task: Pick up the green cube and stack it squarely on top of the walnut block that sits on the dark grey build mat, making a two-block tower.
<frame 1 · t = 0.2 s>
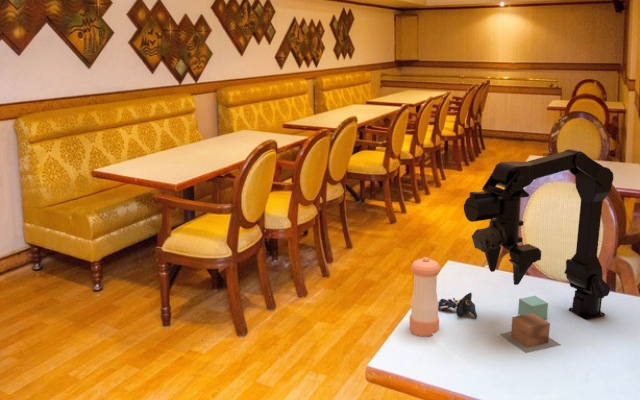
hand: (503, 277, 147), 14 cm above the table, fingers open, 9 cm apart
walnut block: (529, 339, 145), point 1 cm above the table, touching build mat
pepper shaker: (423, 330, 152), on the table
toy: (451, 313, 162), on the table
green cube: (532, 318, 157), on the table
build mat: (529, 341, 145), on the table
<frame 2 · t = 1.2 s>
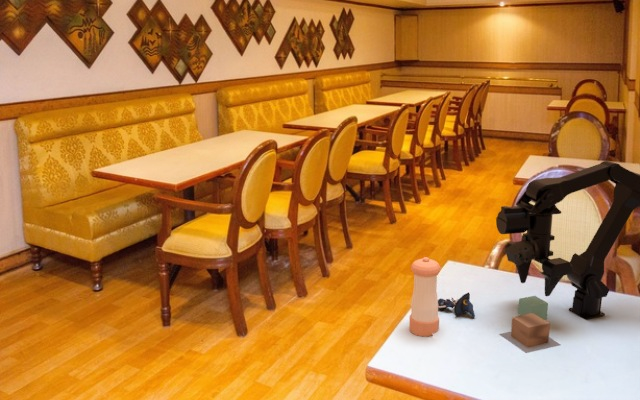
hand: (534, 289, 155), 8 cm above the table, fingers open, 9 cm apart
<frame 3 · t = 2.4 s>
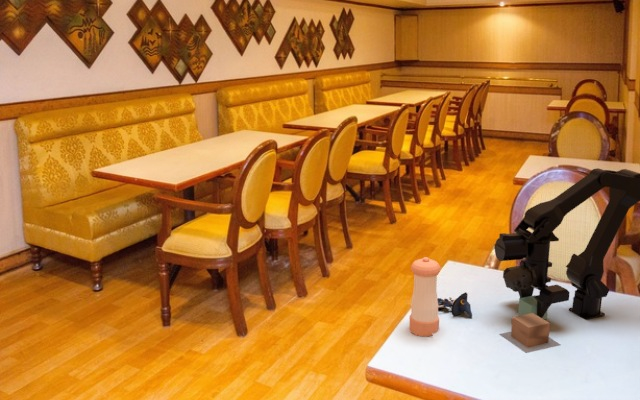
hand: (532, 314, 157), 1 cm above the table, fingers closed on green cube, 5 cm apart
green cube: (532, 318, 157), on the table, touching gripper
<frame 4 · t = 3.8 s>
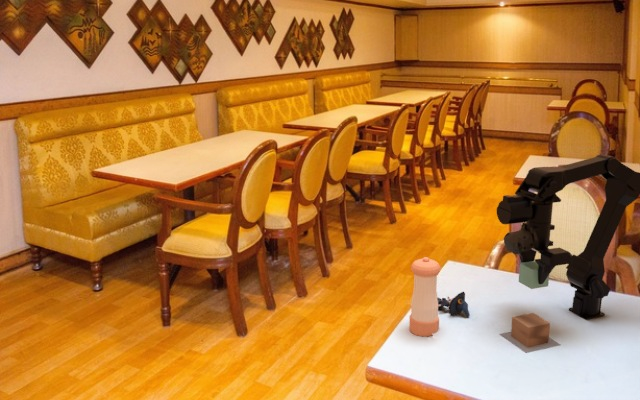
hand: (533, 280, 151), 12 cm above the table, fingers closed on green cube, 5 cm apart
green cube: (533, 284, 152), point 11 cm above the table, touching gripper
when the fingers open (8 cm above the table, at t = 5.3 s): green cube drops 1 cm, resting on walnut block.
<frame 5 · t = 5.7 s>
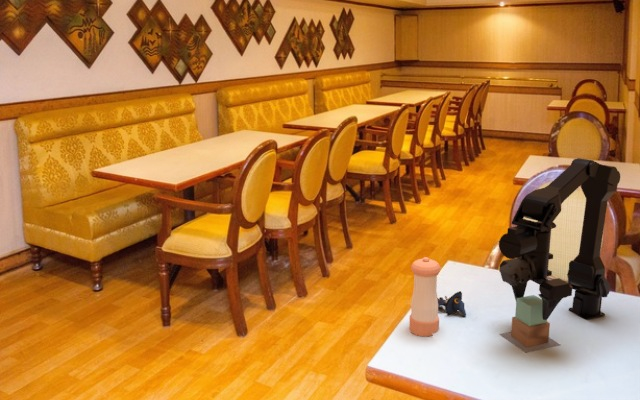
hand: (531, 311, 143), 8 cm above the table, fingers open, 9 cm apart
walnut block: (529, 339, 145), point 1 cm above the table, touching build mat, green cube
green cube: (530, 320, 144), point 6 cm above the table, touching walnut block
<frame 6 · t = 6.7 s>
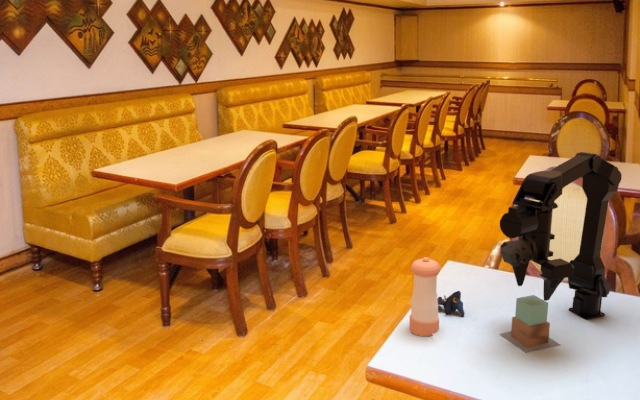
hand: (532, 292, 142), 12 cm above the table, fingers open, 9 cm apart
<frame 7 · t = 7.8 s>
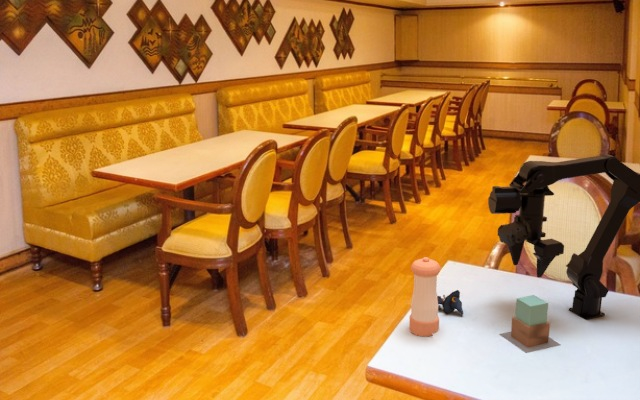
hand: (527, 270, 155), 13 cm above the table, fingers open, 9 cm apart
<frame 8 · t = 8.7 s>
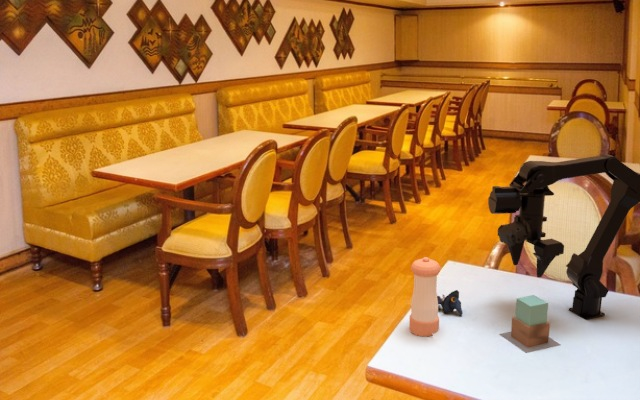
hand: (527, 270, 155), 13 cm above the table, fingers open, 9 cm apart
at the end: green cube 0.0 cm off-centre on the walnut block, point 5.0 cm above the walnut block's base; green cube tilted 0°; walnut block moved 0.0 cm from its start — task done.
